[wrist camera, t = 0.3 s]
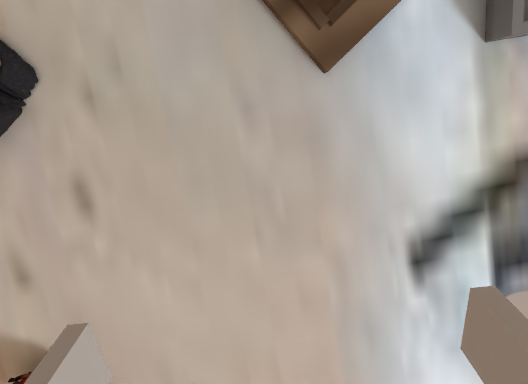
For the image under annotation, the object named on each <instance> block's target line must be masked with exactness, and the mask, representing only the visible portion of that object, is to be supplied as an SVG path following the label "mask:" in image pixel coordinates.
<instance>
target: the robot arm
mask: <svg viewBox="0 0 528 384" xmlns="http://www.w3.org/2000/svg"><path fill="white" fill-rule="evenodd" d="M461 350H462V351H463V353H464V354H465V356H466V357H467V359H468V360H469V362H470V363H471V365H472V366H473V368H474V369H475V371H476V372H477V374H478V375H479V377H480V378H481V380H482V381H483V383H484V384H528V319H527V318H526V317H525V316H524V315H523V314H522V313H521V312H520V311H519V310H518V309H517V308H516V307H515V306H514V305H513V304H512V303H511V302H510V301H509V300H508V299H507V298H506V297H505V296H504V295H503V294H502V293H501V292H500V291H499V290H498V289H497V288H496V287H495V286H488V287H477V288H470V294H469V300H468V306H467V312H466V318H465V324H464V330H463V337H462V343H461ZM111 379H112V375H111V373H110V370H109V368H108V366H107V364H106V361H105V359H104V357H103V355H102V352H101V350H100V348H99V346H98V344H97V341H96V339H95V337H94V335H93V332H92V330H91V328H90V326H89V323H84V324H73V325H67V326H66V328H65V329H64V330H63V332H62V333H61V334H60V336H59V337H58V338H57V340H56V341H55V343H54V344H53V345H52V347H51V348H50V349H49V351H48V352H47V353H46V355H45V356H44V357H43V359H42V360H41V361H40V363H39V364H38V365H37V367H36V368H35V369H34V371H33V372H32V373H31V375H30V376H29V378H28V379H27V380H26V382H25V383H24V384H109V383H110V381H111Z"/></svg>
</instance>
